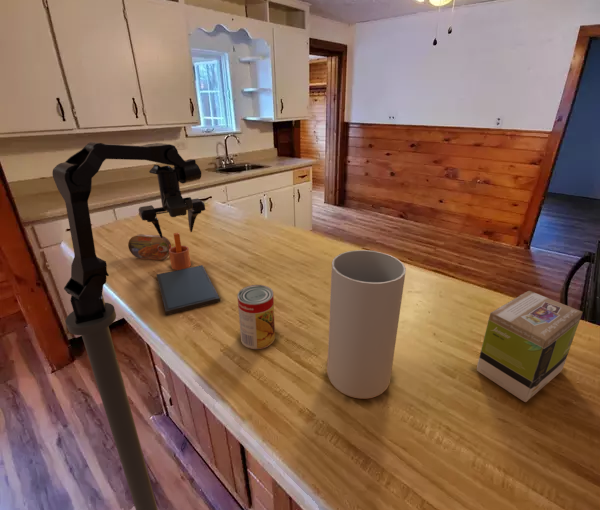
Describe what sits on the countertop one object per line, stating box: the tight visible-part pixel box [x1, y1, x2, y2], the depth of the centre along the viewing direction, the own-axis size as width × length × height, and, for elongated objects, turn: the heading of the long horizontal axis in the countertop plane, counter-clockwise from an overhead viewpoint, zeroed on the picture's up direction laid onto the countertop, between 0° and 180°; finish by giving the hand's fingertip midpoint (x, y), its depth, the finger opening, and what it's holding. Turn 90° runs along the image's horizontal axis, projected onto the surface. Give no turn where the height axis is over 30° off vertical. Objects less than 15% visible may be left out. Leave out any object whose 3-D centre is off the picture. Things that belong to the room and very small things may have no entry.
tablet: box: [156, 264, 221, 316], centre depth 98 cm, size 14×22×1 cm, turn 27°
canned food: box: [236, 284, 276, 350], centre depth 76 cm, size 8×8×12 cm
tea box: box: [476, 290, 584, 403], centre depth 66 cm, size 15×10×15 cm
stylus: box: [173, 232, 182, 253], centre depth 109 cm, size 2×2×11 cm
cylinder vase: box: [326, 249, 407, 400], centre depth 63 cm, size 12×12×25 cm
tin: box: [127, 233, 172, 261], centre depth 116 cm, size 15×3×8 cm, turn 81°
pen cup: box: [169, 245, 192, 271], centre depth 111 cm, size 6×6×6 cm
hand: (176, 234), depth 107 cm, fingers open, 9 cm apart
